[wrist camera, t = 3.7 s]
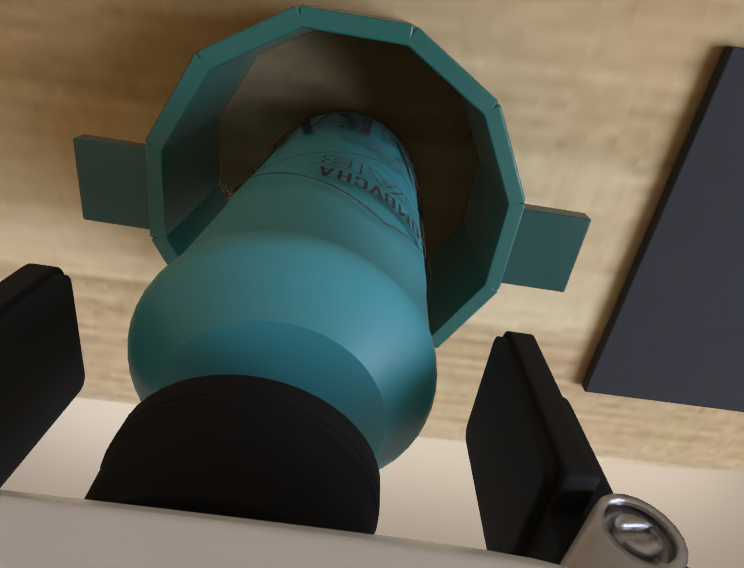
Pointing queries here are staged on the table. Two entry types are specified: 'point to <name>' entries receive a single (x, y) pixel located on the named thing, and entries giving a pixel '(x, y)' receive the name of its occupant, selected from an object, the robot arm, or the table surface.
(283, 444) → the beverage bottle
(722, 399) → the mat
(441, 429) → the table surface
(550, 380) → the robot arm
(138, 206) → the teal cooking pot
